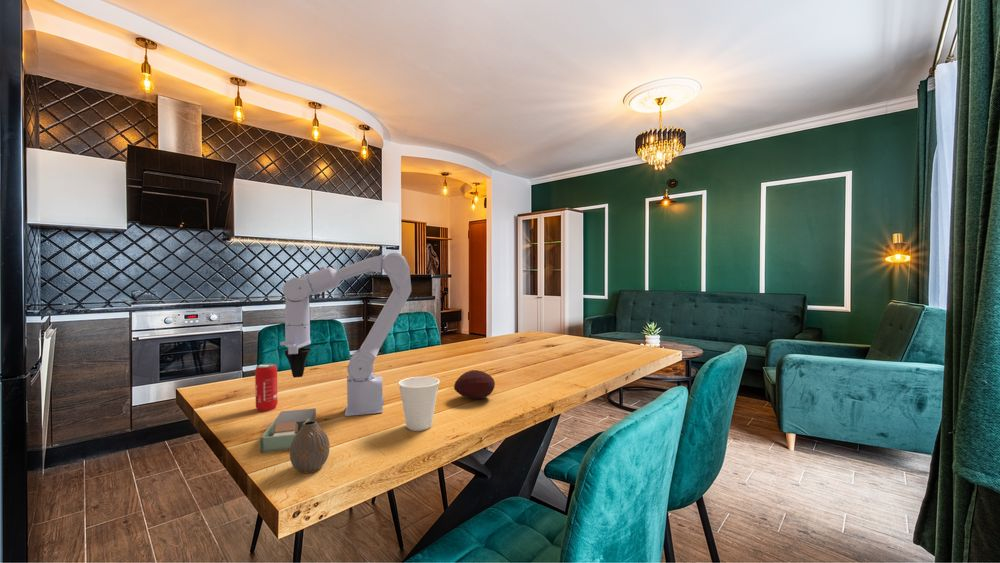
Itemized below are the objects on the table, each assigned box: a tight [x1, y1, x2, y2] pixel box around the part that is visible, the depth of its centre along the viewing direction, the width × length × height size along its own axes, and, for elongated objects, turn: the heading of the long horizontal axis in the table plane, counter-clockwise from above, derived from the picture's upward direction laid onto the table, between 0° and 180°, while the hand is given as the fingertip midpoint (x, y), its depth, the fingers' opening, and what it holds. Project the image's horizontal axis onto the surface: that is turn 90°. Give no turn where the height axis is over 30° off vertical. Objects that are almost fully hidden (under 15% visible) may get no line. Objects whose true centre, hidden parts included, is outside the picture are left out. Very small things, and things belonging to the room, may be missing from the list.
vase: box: [289, 420, 330, 474], centre depth 77 cm, size 7×7×9 cm
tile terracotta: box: [274, 422, 298, 434], centre depth 90 cm, size 4×4×2 cm
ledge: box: [273, 407, 317, 431], centre depth 98 cm, size 8×9×2 cm
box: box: [259, 419, 310, 454], centre depth 89 cm, size 8×10×3 cm
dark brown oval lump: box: [453, 369, 496, 400], centre depth 119 cm, size 12×11×8 cm
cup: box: [397, 376, 440, 432], centre depth 97 cm, size 10×10×11 cm
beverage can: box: [254, 363, 279, 412], centre depth 110 cm, size 5×5×12 cm
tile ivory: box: [273, 430, 295, 436], centre depth 87 cm, size 4×4×2 cm
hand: (298, 376), depth 104 cm, fingers closed
